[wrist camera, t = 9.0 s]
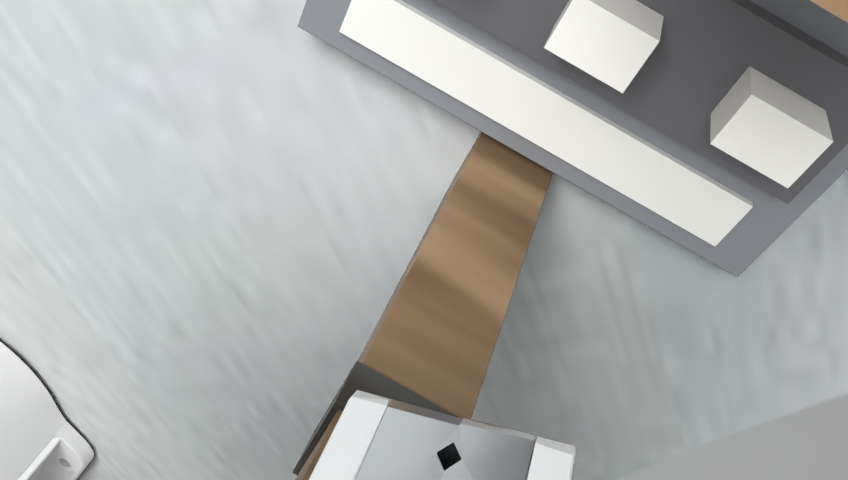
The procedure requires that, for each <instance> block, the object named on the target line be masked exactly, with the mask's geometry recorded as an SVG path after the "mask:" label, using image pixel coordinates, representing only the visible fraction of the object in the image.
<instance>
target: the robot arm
mask: <svg viewBox="0 0 848 480" xmlns="http://www.w3.org/2000/svg"><path fill="white" fill-rule="evenodd" d="M535 438H536V435H532V434H528V433H524V432H520V431H516V430H512V429H507V428H503V427H499V426H495V425H491V424H487V423H483V422H478V421H474V420H470V419H466V418H463V419H461V418H457V417H454V416H450V415H447V414H443V413H440V412H436V411H433V410H429V409H426V408H422V407H418V406H415V405H411V404H408V403H404V402H401V401H397V400H394V399H389V398H385V397H382V396H378V395H374V394H371V393H367V392H363V391H359V390H357V391H356V392H355V393H354V394H353V395H352V396H351V397H350V398H349V400H348V402H347V404H346V406H345V408H344V410H343V412H342V414H341V416H340V418H339V420H338V422H337V424H336V426H335V428H334V430H333V432H332V434H331V436H330V438H329V440H328V442H327V444H326V446H325V448H324V450H323V452H322V454H321V456H320V458H319V460H318V462H317V464H316V466H315V468H314V470H313V472H312V474H311V476H310V478H309V480H571V477H572V471H573V465H574V459H575V453H576V452H575V446H573V445H570V444H566V443H562V442H558V441H554V440H550V439H546V438H542V437H538V436H537V438H536V441H535ZM534 444H535V446H534ZM533 449H534V450H533ZM532 454H533V455H532ZM93 457H94V452H93V450H92V448H91V447H90V445H89V444H88V443H87V442H86V440H85V439H84V438H83V437H82V436H81V435H80V434H79V433H78V432H77V431H76V430H75V429H74V428H73V427H72V426H71V425H70V424H69V423H68V422H67V421H66V420H65V418H64V417H63V416H62V414H61V412H60V411H59V409H58V407H57V406H56V404H55V402H54V400H53V399H52V397H51V395H50V394H49V392H48V391H47V389H46V388H45V387H44V385H43V384H42V383H41V381H40V380H39V379H38V377H37V376H36V375H35V374H34V373H33V372H32V371H31V369H30V368H29V367H28V366H27V365H26V364H25V363H24V362H23V361H22V360H21V359H20V358H19V357H18V356H17V355H15V354H14V353H13V352H12V351H11V350H10V349H9V348H7V347H6V346H5V345H4V344H2V343H1V342H0V480H77V478H78V477H79V476H80V475H81V473H82V472H83V471H84V469H85V468H86V467H87V465H88V464H89V463H90V462H91V460H92V459H93Z"/></svg>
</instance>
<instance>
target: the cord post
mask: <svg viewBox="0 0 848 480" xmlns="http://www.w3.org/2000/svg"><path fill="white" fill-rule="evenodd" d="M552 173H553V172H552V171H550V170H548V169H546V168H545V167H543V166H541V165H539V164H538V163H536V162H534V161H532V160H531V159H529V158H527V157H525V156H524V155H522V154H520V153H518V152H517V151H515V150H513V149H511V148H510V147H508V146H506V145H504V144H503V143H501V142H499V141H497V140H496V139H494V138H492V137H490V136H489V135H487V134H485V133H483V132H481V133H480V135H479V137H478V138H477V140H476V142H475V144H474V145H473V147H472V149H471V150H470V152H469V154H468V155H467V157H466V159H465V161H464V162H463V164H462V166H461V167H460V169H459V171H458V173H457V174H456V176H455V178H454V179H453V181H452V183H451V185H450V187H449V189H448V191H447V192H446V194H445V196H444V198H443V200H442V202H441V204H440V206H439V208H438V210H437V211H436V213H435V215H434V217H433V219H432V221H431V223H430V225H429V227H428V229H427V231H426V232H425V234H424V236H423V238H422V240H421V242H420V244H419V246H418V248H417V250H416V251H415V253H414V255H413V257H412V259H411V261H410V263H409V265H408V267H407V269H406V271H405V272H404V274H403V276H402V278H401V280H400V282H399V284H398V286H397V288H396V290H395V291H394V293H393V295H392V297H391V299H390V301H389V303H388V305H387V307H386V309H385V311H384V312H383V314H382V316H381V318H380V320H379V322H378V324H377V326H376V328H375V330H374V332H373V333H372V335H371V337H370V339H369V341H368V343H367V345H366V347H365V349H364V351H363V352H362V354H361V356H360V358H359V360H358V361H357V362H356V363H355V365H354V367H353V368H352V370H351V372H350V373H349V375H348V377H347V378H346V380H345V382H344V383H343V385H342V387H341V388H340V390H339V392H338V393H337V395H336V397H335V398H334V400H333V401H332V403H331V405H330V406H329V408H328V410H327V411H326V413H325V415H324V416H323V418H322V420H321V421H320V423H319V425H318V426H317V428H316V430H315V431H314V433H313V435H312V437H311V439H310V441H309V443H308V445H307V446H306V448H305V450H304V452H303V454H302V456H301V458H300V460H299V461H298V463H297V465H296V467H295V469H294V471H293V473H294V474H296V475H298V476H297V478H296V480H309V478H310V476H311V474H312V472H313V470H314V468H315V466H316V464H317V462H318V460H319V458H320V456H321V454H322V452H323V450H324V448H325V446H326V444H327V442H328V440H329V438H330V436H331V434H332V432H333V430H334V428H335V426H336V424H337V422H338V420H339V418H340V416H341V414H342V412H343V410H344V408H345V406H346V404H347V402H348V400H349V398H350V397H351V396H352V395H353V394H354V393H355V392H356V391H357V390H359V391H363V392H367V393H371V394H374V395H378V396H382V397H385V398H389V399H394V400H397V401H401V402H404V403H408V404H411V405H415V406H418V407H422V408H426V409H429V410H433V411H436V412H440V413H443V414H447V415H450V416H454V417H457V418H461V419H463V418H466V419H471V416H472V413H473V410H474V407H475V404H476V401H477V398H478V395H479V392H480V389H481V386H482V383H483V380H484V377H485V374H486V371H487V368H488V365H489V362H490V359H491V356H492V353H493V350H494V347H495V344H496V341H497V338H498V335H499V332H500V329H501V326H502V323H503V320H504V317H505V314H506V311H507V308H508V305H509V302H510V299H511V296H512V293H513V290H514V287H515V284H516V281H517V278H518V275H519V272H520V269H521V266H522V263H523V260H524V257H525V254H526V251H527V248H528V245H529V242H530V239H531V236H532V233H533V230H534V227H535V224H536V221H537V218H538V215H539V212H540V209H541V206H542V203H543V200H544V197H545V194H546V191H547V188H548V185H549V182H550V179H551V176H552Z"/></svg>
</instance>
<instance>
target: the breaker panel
mask: <svg viewBox="0 0 848 480" xmlns="http://www.w3.org/2000/svg"><path fill="white" fill-rule="evenodd" d="M298 27H300V28H301V29H303V30H305V31H307V32H308V33H310V34H312V35H314V36H315V37H317V38H319V39H321V40H322V41H324V42H326V43H328V44H329V45H331V46H333V47H335V48H336V49H338V50H340V51H342V52H343V53H345V54H347V55H349V56H350V57H352V58H354V59H356V60H357V61H359V62H361V63H363V64H364V65H366V66H368V67H370V68H371V69H373V70H375V71H377V72H378V73H380V74H382V75H384V76H385V77H387V78H389V79H391V80H392V81H394V82H396V83H398V84H399V85H401V86H403V87H405V88H406V89H408V90H410V91H412V92H413V93H415V94H417V95H419V96H420V97H422V98H424V99H426V100H427V101H429V102H431V103H433V104H434V105H436V106H438V107H440V108H441V109H443V110H445V111H447V112H448V113H450V114H452V115H454V116H455V117H457V118H459V119H461V120H462V121H464V122H466V123H468V124H469V125H471V126H473V127H475V128H476V129H478V130H480V131H482V132H483V133H485V134H487V135H489V136H490V137H492V138H494V139H496V140H497V141H499V142H501V143H503V144H504V145H506V146H508V147H510V148H511V149H513V150H515V151H517V152H518V153H520V154H522V155H524V156H525V157H527V158H529V159H531V160H532V161H534V162H536V163H538V164H539V165H541V166H543V167H545V168H546V169H548V170H550V171H552V172H553V173H555V174H557V175H559V176H560V177H562V178H564V179H566V180H567V181H569V182H571V183H573V184H574V185H576V186H578V187H580V188H581V189H583V190H585V191H587V192H588V193H590V194H592V195H594V196H595V197H597V198H599V199H601V200H602V201H604V202H606V203H608V204H609V205H611V206H613V207H615V208H616V209H618V210H620V211H622V212H623V213H625V214H627V215H629V216H630V217H632V218H634V219H636V220H637V221H639V222H641V223H643V224H644V225H646V226H648V227H650V228H651V229H653V230H655V231H657V232H658V233H660V234H662V235H664V236H665V237H667V238H669V239H671V240H672V241H674V242H676V243H678V244H679V245H681V246H683V247H685V248H687V249H688V250H690V251H692V252H694V253H695V254H697V255H699V256H701V257H702V258H704V259H706V260H708V261H709V262H711V263H713V264H715V265H716V266H718V267H720V268H722V269H723V270H725V271H727V272H729V273H730V274H732V275H734V276H736V277H738V276H739V275H740V274H741V273H742V272H743V271H744V270H745V269H746V268H747V267H748V266H749V265H750V264H751V263H752V262H753V261H754V260H755V259H756V258H757V257H758V256H759V255H760V254H761V253H762V252H763V251H764V250H765V249H766V248H767V247H768V246H769V245H770V244H771V243H772V242H773V241H774V240H775V239H776V238H778V237H779V236H780V235H781V234H782V233H783V232H784V231H785V230H786V229H787V228H788V227H789V226H790V225H791V224H792V223H793V222H794V221H795V220H796V219H797V218H798V217H799V216H800V215H801V214H802V213H803V212H804V211H805V210H806V209H807V208H808V207H809V206H810V205H811V204H812V203H813V202H814V201H815V200H816V199H817V198H818V197H819V196H820V195H821V194H822V193H823V192H824V191H825V190H826V189H827V188H828V187H829V186H830V185H831V184H832V183H833V182H834V181H835V180H836V179H837V178H838V177H839V176H840V175H841V174H842V173H843V172H844V171H845V170H846V169H847V168H848V23H847V22H846V21H844V20H842V19H841V18H839V17H837V16H835V15H834V14H832V13H830V12H829V11H827V10H825V9H823V8H822V7H820V6H818V5H817V4H815V3H813V2H811V1H810V0H307V1H306V4H305V7H304V10H303V13H302V15H301V18H300V21H299V24H298Z"/></svg>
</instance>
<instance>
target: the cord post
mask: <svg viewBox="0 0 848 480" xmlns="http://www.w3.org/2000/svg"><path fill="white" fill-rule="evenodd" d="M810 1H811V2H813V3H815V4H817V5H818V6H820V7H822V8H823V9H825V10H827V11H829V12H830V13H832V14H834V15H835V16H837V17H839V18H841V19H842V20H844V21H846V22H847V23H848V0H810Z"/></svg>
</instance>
